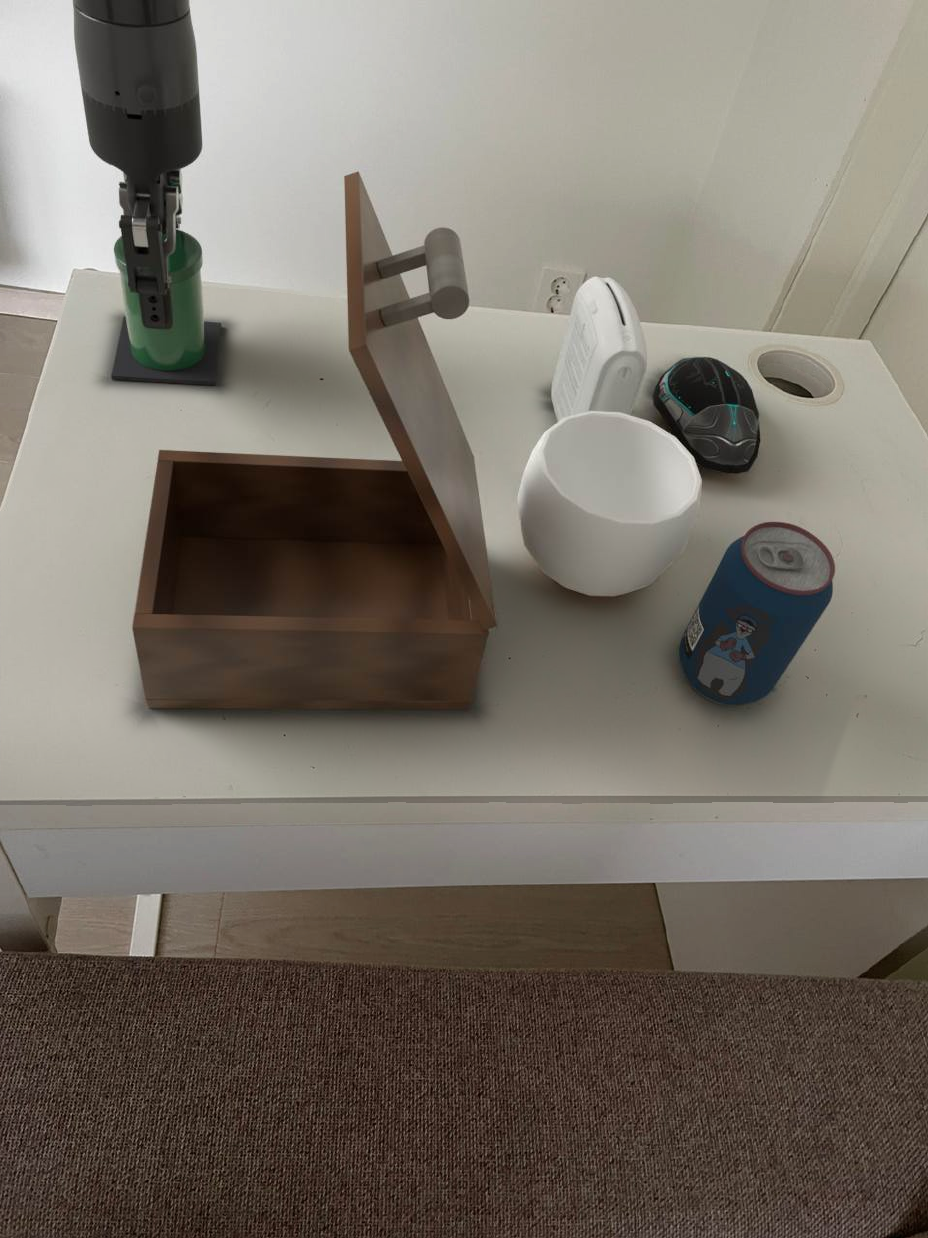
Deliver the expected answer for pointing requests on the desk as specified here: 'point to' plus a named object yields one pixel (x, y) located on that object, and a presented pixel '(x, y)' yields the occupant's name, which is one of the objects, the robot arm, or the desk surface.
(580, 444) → the cup
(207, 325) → the mat
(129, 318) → the green pot
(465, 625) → the wooden box
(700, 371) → the computer mouse
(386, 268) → the lid
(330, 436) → the desk surface
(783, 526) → the soda can
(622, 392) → the photo printer
